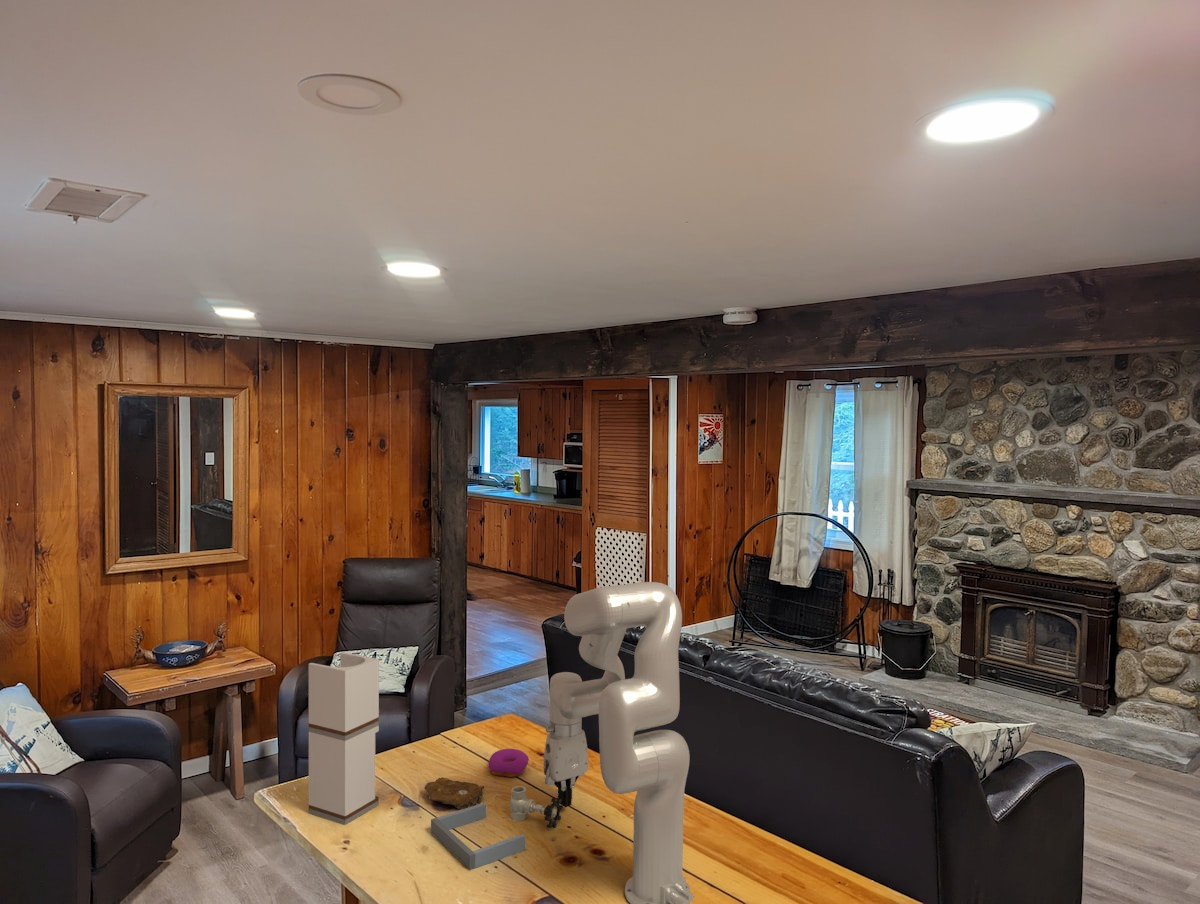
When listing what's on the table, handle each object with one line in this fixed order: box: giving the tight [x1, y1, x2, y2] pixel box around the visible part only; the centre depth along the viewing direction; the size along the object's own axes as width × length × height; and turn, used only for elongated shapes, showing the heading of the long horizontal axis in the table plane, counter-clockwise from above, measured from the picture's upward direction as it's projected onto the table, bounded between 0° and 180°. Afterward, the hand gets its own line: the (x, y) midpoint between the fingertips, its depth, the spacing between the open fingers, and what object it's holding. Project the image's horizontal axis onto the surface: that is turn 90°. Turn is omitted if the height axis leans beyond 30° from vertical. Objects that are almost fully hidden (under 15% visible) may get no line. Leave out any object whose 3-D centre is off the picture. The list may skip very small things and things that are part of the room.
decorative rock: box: [424, 777, 485, 811], centre depth 190 cm, size 11×4×15 cm
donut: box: [487, 748, 530, 778], centre depth 206 cm, size 10×10×5 cm
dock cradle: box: [430, 802, 527, 871], centre depth 171 cm, size 18×13×3 cm
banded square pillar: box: [308, 652, 380, 826], centre depth 184 cm, size 11×11×35 cm
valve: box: [509, 785, 564, 829], centre depth 180 cm, size 7×7×12 cm
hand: (564, 804), depth 185 cm, fingers closed
